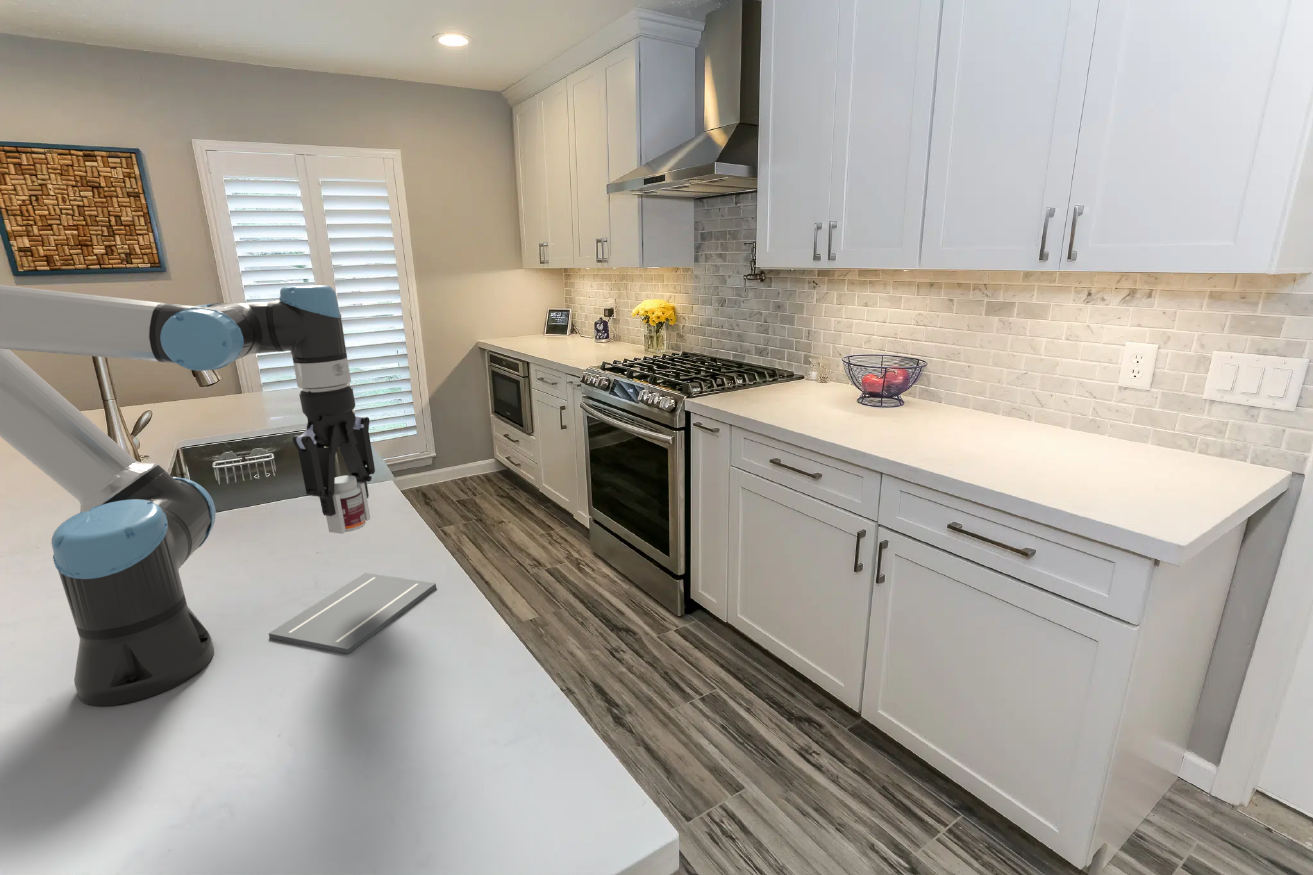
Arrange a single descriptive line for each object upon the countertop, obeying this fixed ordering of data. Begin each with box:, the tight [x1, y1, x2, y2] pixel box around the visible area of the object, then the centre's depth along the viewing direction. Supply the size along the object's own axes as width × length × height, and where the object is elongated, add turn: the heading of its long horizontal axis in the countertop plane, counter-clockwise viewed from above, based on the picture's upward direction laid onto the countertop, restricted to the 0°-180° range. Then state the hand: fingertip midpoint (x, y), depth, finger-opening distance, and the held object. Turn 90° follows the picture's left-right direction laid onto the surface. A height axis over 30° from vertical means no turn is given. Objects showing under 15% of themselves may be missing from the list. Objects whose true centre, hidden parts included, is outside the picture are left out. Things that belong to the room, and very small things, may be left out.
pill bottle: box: [334, 474, 367, 533], centre depth 105 cm, size 5×5×8 cm
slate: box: [268, 572, 437, 655], centre depth 103 cm, size 20×15×1 cm
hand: (350, 525), depth 106 cm, fingers closed on pill bottle, 5 cm apart
